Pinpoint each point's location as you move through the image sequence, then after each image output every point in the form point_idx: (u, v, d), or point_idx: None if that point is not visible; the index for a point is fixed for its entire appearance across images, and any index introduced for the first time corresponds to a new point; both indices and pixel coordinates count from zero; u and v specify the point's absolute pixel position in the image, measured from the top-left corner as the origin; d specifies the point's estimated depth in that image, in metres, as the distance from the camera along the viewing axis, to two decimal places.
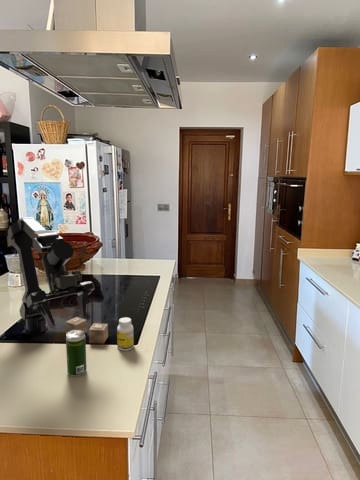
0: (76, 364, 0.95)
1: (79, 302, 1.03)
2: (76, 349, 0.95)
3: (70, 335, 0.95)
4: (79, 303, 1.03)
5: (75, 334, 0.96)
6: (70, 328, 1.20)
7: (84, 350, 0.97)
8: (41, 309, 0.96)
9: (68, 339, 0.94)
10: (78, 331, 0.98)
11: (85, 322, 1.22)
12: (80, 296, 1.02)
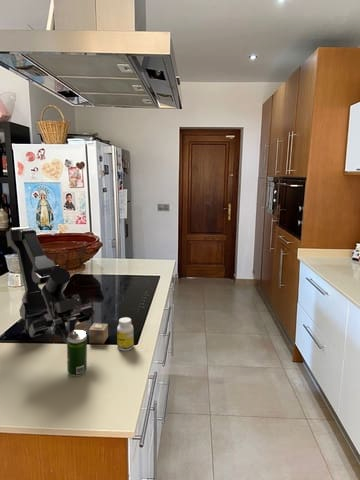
0: (76, 365, 0.95)
1: None
2: (77, 350, 0.94)
3: (71, 336, 0.95)
4: (67, 333, 1.02)
5: (76, 335, 0.95)
6: None
7: (85, 351, 0.96)
8: (59, 332, 1.01)
9: (69, 340, 0.94)
10: (79, 332, 0.97)
11: (85, 322, 1.22)
12: (68, 325, 1.01)
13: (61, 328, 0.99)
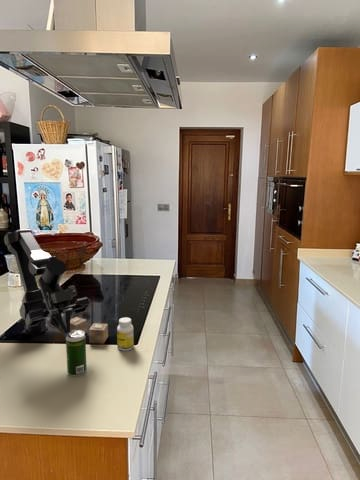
0: (76, 364, 0.95)
1: None
2: (76, 349, 0.95)
3: (70, 335, 0.95)
4: (63, 323, 1.03)
5: (75, 334, 0.96)
6: (70, 328, 1.20)
7: (84, 350, 0.97)
8: (55, 323, 1.02)
9: (68, 339, 0.94)
10: (78, 331, 0.98)
11: (85, 322, 1.22)
12: (64, 316, 1.03)
13: (57, 318, 1.00)
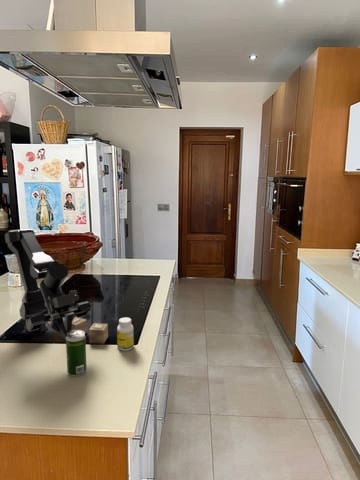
0: (76, 364, 0.95)
1: (64, 327, 1.03)
2: (76, 349, 0.95)
3: (70, 335, 0.95)
4: (65, 328, 1.03)
5: (75, 334, 0.96)
6: None
7: (84, 350, 0.97)
8: (56, 327, 1.02)
9: (68, 339, 0.94)
10: (78, 331, 0.98)
11: (85, 322, 1.22)
12: (65, 320, 1.02)
13: (59, 323, 1.00)
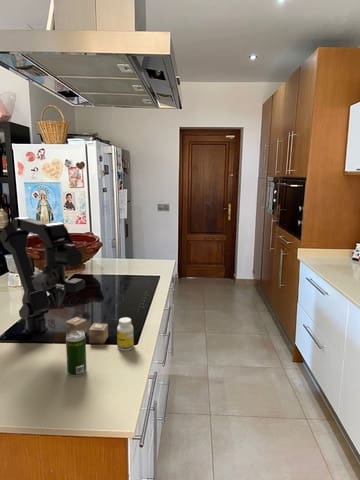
0: (76, 364, 0.95)
1: None
2: (76, 349, 0.95)
3: (70, 335, 0.95)
4: None
5: (75, 334, 0.96)
6: (70, 328, 1.20)
7: (84, 350, 0.97)
8: None
9: (68, 339, 0.94)
10: (78, 331, 0.98)
11: (85, 322, 1.22)
12: None
13: (48, 291, 1.10)
